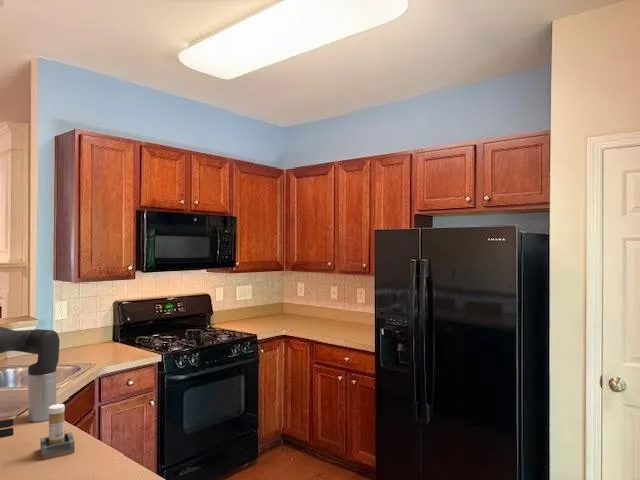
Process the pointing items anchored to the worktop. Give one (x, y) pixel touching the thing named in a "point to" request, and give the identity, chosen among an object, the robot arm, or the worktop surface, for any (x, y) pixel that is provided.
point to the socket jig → (57, 447)
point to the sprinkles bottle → (56, 424)
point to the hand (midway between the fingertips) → (13, 426)
